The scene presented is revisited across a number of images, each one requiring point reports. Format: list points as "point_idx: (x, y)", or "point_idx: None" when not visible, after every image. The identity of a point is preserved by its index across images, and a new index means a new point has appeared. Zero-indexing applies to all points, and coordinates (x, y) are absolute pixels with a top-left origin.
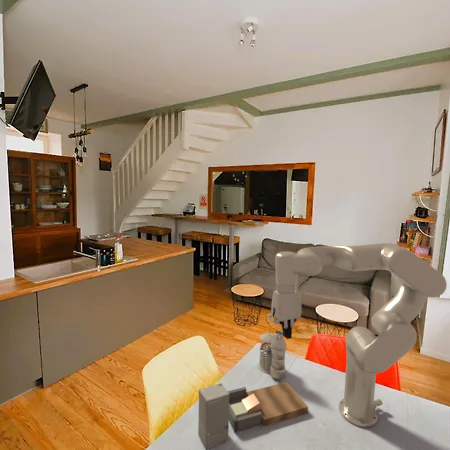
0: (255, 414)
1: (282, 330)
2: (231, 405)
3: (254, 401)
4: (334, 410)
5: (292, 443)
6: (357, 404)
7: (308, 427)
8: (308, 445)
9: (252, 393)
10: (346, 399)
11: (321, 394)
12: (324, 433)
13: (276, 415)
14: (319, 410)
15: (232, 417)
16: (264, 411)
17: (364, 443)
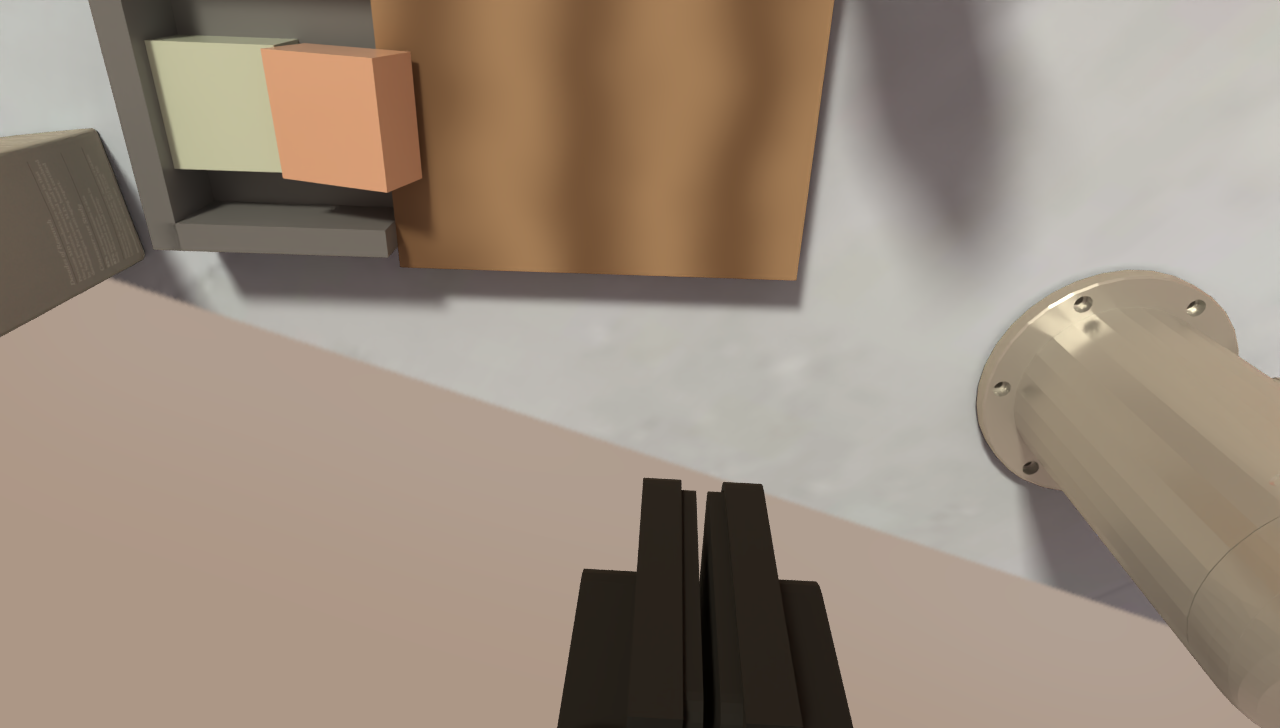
0: (334, 244)
1: (571, 653)
2: (165, 51)
3: (354, 146)
4: (981, 309)
5: (539, 407)
6: (1074, 505)
7: (705, 355)
8: (620, 445)
9: None
10: (1068, 423)
11: (1045, 141)
12: (765, 419)
13: (515, 265)
14: (884, 271)
15: (143, 201)
16: (442, 198)
17: (915, 531)
